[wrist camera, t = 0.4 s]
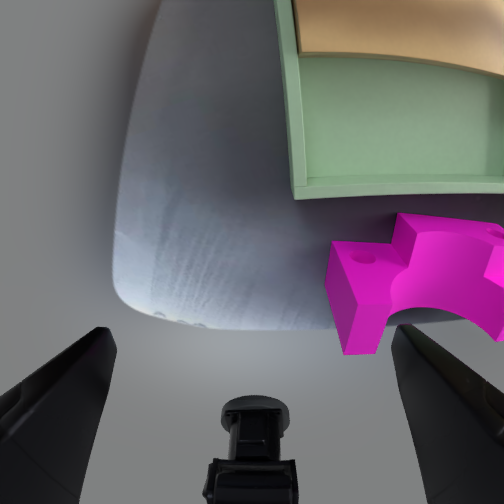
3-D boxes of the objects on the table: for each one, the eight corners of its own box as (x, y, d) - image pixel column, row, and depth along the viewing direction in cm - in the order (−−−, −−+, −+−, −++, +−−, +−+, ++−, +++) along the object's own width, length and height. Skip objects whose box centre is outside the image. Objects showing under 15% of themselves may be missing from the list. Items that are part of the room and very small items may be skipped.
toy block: (496, 223, 21) (550, 268, 15) (475, 286, 24) (516, 338, 18) (336, 207, 22) (368, 262, 15) (324, 284, 24) (343, 355, 18)
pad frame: (505, 184, 20) (522, 194, 18) (290, 188, 21) (294, 200, 19) (501, 5, 13) (519, 2, 11) (269, -33, 14) (269, -46, 12)
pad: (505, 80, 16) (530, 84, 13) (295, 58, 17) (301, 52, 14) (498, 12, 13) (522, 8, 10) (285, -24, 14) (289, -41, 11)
